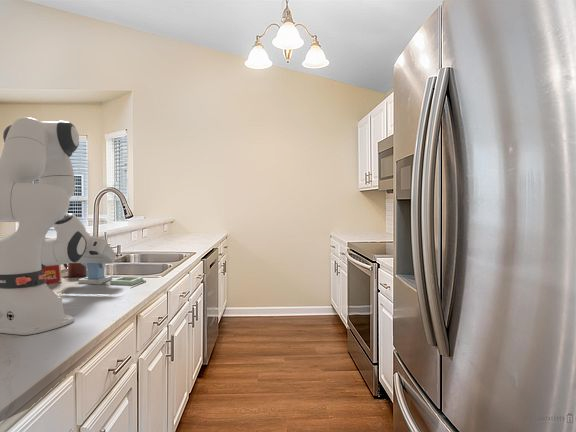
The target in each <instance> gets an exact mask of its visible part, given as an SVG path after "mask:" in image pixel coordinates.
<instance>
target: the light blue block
mask: <svg viewBox="0 0 576 432" xmlns="http://www.w3.org/2000/svg"><path fill="white" fill-rule="evenodd" d="M87 267H88V268H87V277H88V279H93V280H99V279H102V278H104V276H105V268H101V267H100V263H87Z"/></svg>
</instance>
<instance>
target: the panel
mask: <svg viewBox="0 0 576 432" xmlns="http://www.w3.org/2000/svg"><path fill="white" fill-rule="evenodd" d="M77 281H78V282H76V283H75V285H90V286H92V285H94V286H116V287H118V286H119V287H130V289H133V288H135V287H137V286H140V285H144V284H146V283H147V280H146V279H144V276H126V275H125V276H120V277H117V278H113V276H112V275H104V278H102V279H99V280H93V279H88V276H84V277H81V278H79V279H78V280H77Z"/></svg>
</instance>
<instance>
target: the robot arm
mask: <svg viewBox="0 0 576 432" xmlns="http://www.w3.org/2000/svg"><path fill="white" fill-rule="evenodd" d="M2 137H3V138H2V139H3V143H4V144H3V147H2V151H1V155H0V223H18V227H17V230H16V231H15V232H13V233H11V234H8V235H6V236H4V237H1V238H0V334H10V335H20V336H27V335H28V336H29V335H34V334H40V333H44V332H48V331H51V330H54V329H58V328H61V327H63V326H66V325H69V324H71V323H72V322H74V321H75V320H74V317H73V316H71V315H68V314H65V311H64V303H63V298H62V297H61V296H58V295H57V294H56V293H55V292H54V290H52V288H51V287H49V286H48V284H46V278H48V277H46V278H45V276H47V274H44V271H43V269H42V268H44V267H49V266H53V265H60V266H61V265H63V264H67V265H68V263H81V264H82V265H84V266H86V267H87V263H100V267H101V268H104V269H105V268H106V266H107V264H113V263H114V262H115V260H116V258H117V254H116V252H115V251H114V249H113V248H112V246H110V245H109V244H107V243H108V241H107V239H106V238H102V237H101V238H100V237H96V236H94V235H92V234H91V235H90V233H89V232H88V231H87V229H86V227H85V226H84V224H83V222H82V221H81V220H80V219H79V218H78V217H77V216H76V215H75V214H74V213H71V212H70V213H68V211H69V208H70V203H71V201H70V199H71V198H72V196H74V193H75V191H76V180H75V173H74V168H73V164H72V160H71V158H70V157H72V155H73V153H75V152H76V150H77V149H78V148H79V145H80V142H79V141H80V135H79V133H78V130H77V128H76V126H75V125H74V124H73V123H72V122H70V121H65V120H59V121H53V120H52V121H51V120H50V121H39V120H38V119H36V118H33V117H19V118H16V120H14V121H13V123H12V124H11V125H8V126H7V127H6V128H5V129H4V131H3V136H2ZM36 181H38V182H36ZM52 226H53V228H54V230H55V232H56V237H55V238H54V237H53V239H46V238H47V237H46V235H47V233H48V231H49V230H50V229H51V228H52ZM87 269H88V267H87Z"/></svg>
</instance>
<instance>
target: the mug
mask: <svg viewBox="0 0 576 432" xmlns="http://www.w3.org/2000/svg"><path fill="white" fill-rule="evenodd" d="M62 265H63V267H64V268H65V270H67V276H68V278H85V277H87V276H88V268H87V267H86V266H84V265H82V264H81V263H67V264H62Z"/></svg>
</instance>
